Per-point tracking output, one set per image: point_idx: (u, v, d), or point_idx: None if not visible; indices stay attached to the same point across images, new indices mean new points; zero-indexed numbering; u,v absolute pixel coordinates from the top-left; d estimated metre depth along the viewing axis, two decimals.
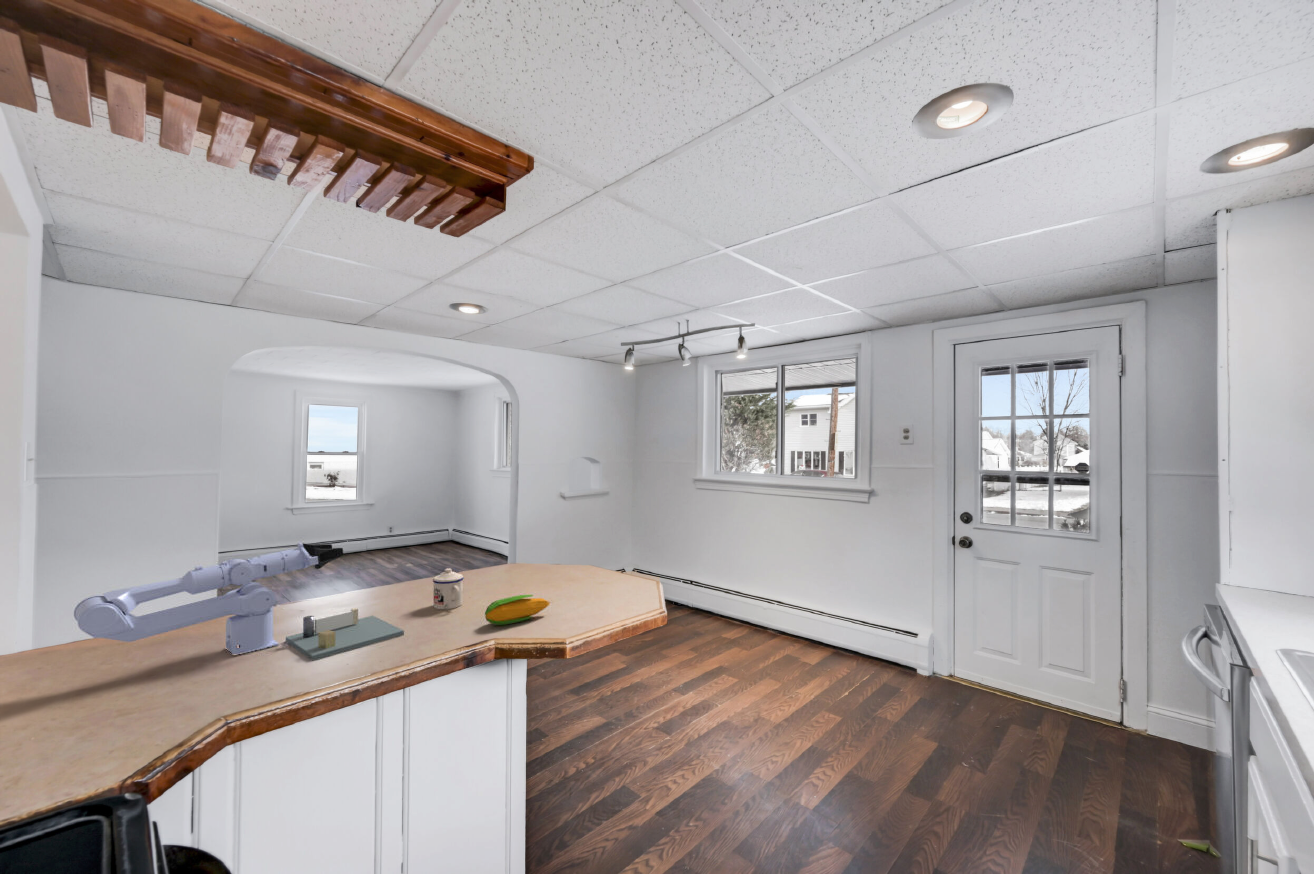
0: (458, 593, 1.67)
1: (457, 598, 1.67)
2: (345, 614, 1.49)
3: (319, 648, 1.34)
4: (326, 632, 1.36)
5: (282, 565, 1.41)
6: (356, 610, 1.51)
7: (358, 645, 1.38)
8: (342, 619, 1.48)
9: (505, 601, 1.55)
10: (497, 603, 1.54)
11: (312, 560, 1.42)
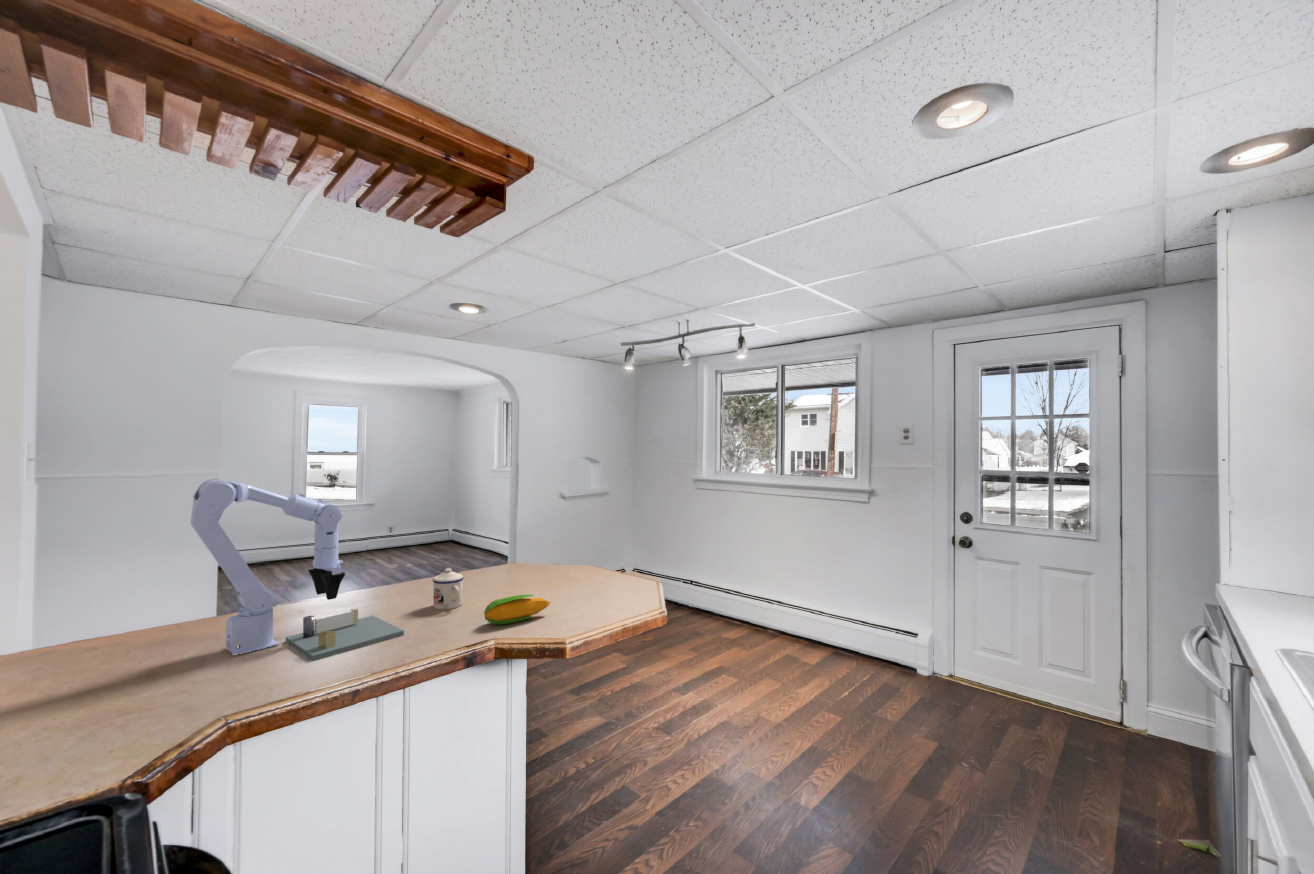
0: (458, 593, 1.67)
1: (457, 598, 1.67)
2: (345, 614, 1.49)
3: (319, 648, 1.34)
4: (326, 632, 1.36)
5: (328, 546, 1.48)
6: (356, 610, 1.51)
7: (358, 645, 1.38)
8: (342, 619, 1.48)
9: (504, 601, 1.55)
10: (496, 602, 1.54)
11: (338, 569, 1.46)
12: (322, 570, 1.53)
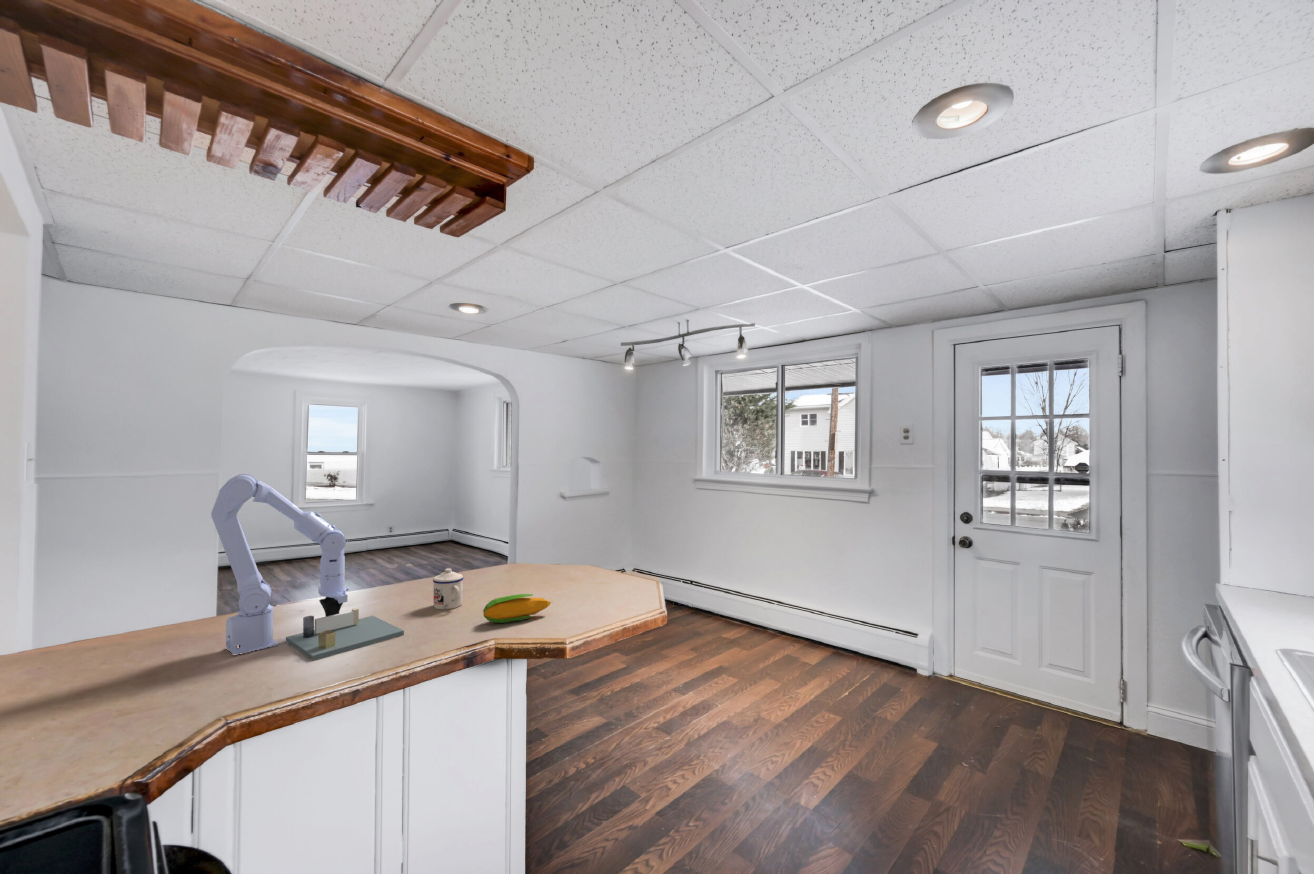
0: (458, 593, 1.67)
1: (457, 598, 1.67)
2: (345, 614, 1.49)
3: (319, 648, 1.34)
4: (326, 632, 1.36)
5: (331, 574, 1.45)
6: (357, 610, 1.51)
7: (358, 645, 1.38)
8: (343, 619, 1.48)
9: (503, 599, 1.56)
10: (495, 601, 1.56)
11: (344, 597, 1.43)
12: None
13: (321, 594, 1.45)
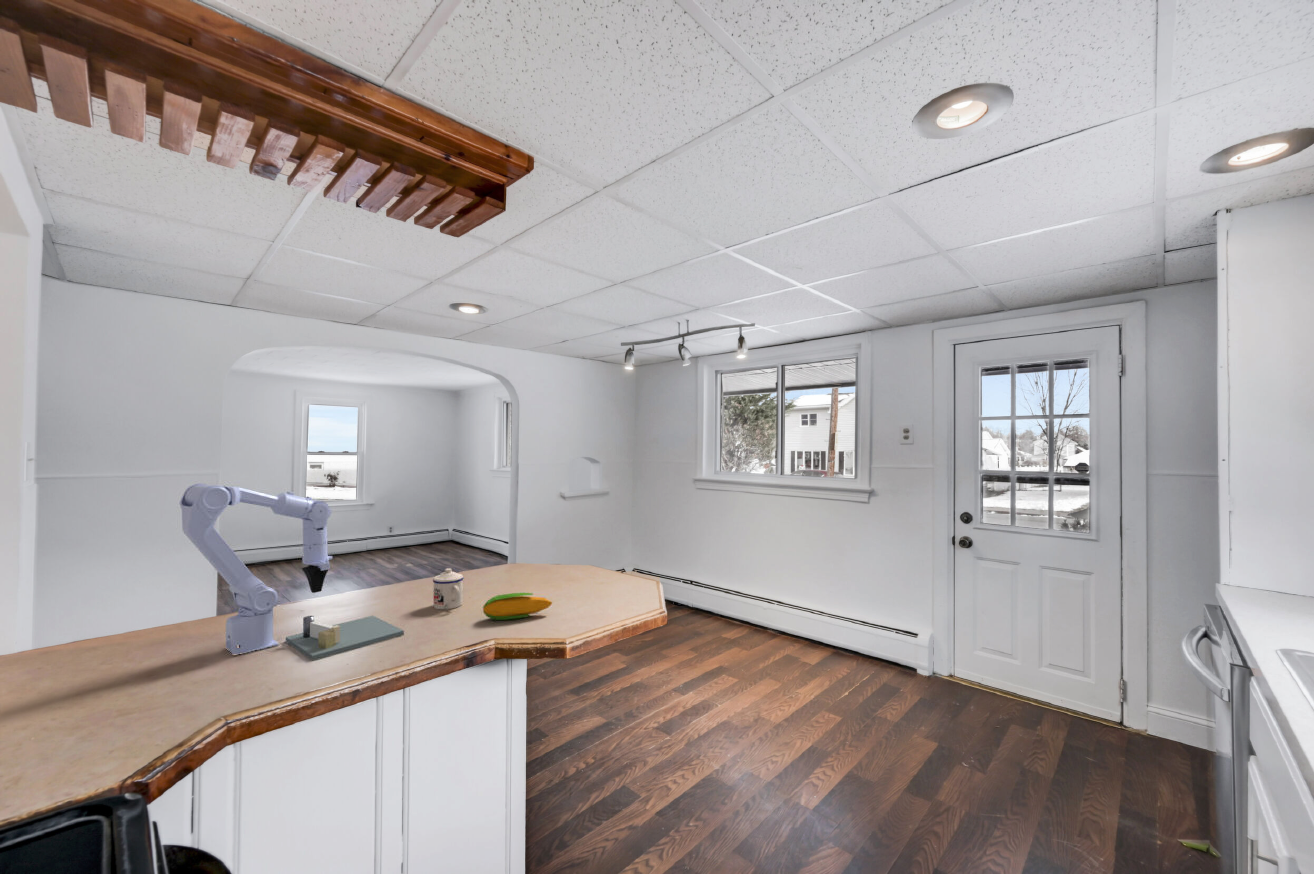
0: (458, 593, 1.67)
1: (457, 598, 1.67)
2: (326, 628, 1.38)
3: (319, 648, 1.34)
4: (326, 632, 1.36)
5: (319, 542, 1.49)
6: (333, 628, 1.37)
7: (358, 645, 1.38)
8: None
9: (502, 597, 1.59)
10: (494, 598, 1.59)
11: (326, 564, 1.47)
12: None
13: (304, 562, 1.48)
